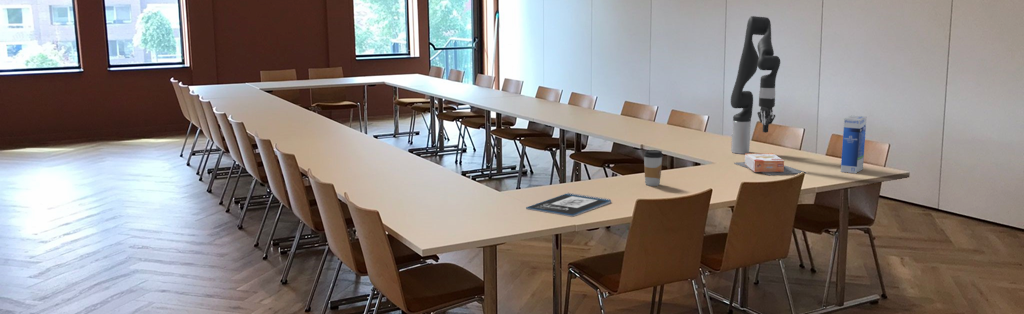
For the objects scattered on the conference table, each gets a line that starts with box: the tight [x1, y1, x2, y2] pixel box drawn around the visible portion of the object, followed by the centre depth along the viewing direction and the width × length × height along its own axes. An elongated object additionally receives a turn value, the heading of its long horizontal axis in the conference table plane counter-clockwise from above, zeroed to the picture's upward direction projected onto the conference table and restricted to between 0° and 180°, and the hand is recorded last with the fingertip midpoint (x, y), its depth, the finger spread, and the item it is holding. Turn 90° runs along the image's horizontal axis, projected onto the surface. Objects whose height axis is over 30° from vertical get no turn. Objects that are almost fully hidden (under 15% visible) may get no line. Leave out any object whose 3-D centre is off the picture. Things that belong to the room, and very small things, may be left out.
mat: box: [734, 161, 807, 176], centre depth 423 cm, size 32×20×1 cm, turn 15°
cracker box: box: [744, 152, 785, 173], centre depth 420 cm, size 14×6×21 cm
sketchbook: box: [525, 192, 612, 217], centre depth 345 cm, size 22×30×2 cm
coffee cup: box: [643, 149, 664, 187], centre depth 384 cm, size 8×8×15 cm
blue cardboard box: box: [840, 115, 867, 174], centre depth 415 cm, size 13×8×26 cm, turn 145°
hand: (765, 132), depth 425 cm, fingers closed
